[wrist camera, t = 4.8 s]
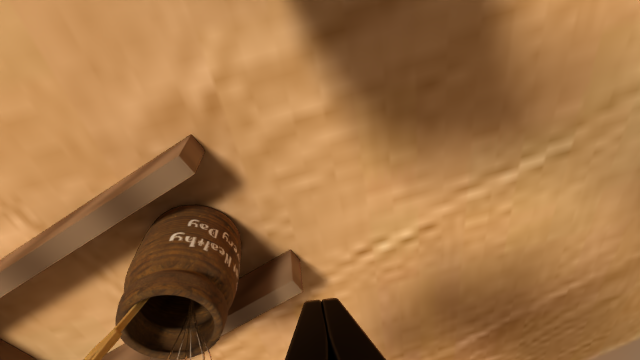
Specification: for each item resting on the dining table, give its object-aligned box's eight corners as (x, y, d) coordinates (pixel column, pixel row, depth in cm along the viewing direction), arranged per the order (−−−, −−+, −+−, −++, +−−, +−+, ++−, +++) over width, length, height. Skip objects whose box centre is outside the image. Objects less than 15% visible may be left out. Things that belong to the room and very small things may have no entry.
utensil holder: (201, 287, 25) (150, 497, 15) (124, 235, 23) (-4, 448, 12) (261, 240, 24) (254, 433, 14) (188, 180, 21) (107, 362, 11)
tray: (190, 134, 20) (178, 155, 17) (299, 260, 25) (303, 291, 23) (-77, 310, 23) (-121, 351, 21) (67, 390, 29) (47, 430, 26)
